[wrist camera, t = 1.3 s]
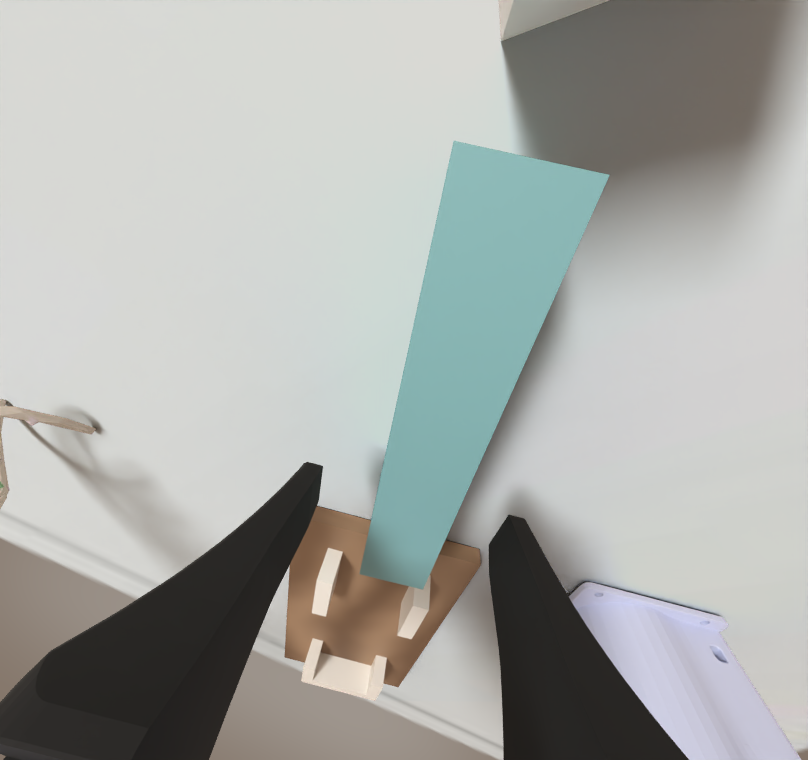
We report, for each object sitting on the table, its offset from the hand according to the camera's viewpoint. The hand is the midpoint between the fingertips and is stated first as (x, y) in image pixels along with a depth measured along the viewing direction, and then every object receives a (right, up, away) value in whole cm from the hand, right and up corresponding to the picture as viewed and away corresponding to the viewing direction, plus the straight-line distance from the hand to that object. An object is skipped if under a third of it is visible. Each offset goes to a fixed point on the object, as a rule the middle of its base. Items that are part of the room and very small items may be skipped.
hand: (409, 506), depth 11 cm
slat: (+1, +5, +3) cm, 6 cm away
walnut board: (-4, -15, +14) cm, 21 cm away
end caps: (-4, -15, +13) cm, 20 cm away
